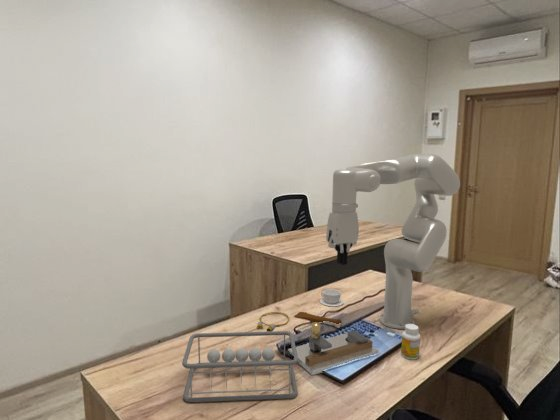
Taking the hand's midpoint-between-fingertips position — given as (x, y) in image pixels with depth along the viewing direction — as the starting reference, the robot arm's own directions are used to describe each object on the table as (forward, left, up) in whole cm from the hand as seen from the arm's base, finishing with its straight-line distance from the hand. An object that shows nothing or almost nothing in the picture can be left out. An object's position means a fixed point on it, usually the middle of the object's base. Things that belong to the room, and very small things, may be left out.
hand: (342, 263), depth 131 cm
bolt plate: (+7, +6, -27) cm, 29 cm away
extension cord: (+13, -24, -28) cm, 39 cm away
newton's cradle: (+35, -2, -22) cm, 41 cm away
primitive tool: (-2, -17, -28) cm, 33 cm away
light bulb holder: (+12, +6, -25) cm, 29 cm away
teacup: (-18, -29, -28) cm, 44 cm away
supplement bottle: (-14, +18, -27) cm, 36 cm away
